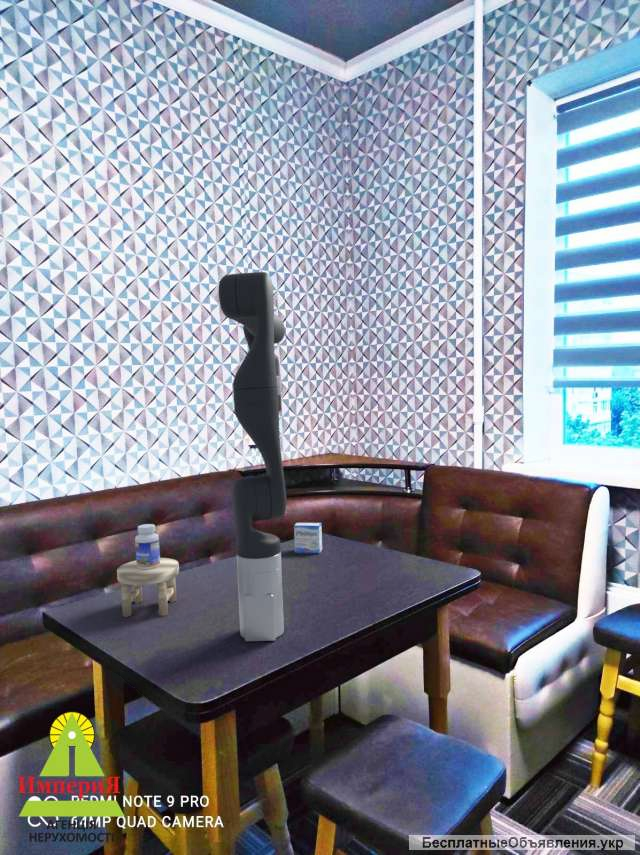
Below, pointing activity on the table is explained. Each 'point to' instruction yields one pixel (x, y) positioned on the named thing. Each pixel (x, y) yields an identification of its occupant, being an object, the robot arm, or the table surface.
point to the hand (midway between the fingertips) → (269, 455)
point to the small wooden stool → (138, 577)
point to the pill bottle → (147, 547)
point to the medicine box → (308, 537)
